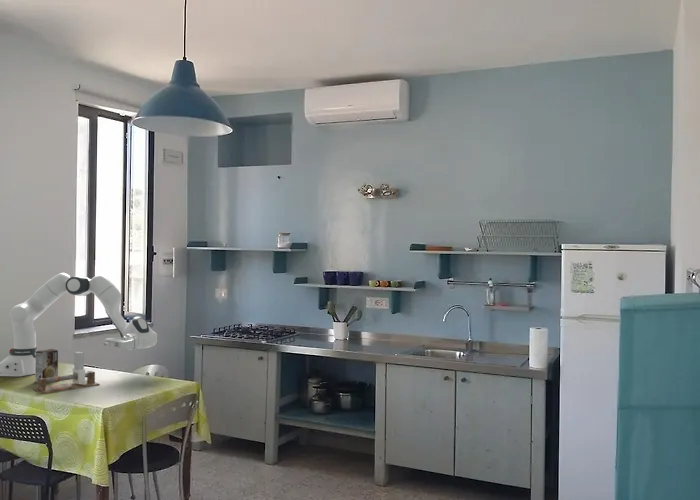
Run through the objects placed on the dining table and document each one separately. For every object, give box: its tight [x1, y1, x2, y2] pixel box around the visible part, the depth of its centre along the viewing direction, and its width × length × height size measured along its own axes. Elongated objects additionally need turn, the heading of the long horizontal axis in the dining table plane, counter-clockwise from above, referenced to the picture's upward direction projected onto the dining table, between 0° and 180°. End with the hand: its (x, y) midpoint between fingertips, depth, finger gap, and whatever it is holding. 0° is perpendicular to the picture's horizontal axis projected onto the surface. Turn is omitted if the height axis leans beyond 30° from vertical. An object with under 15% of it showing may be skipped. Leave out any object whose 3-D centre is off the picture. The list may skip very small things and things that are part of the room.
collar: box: [72, 351, 86, 384], centre depth 327 cm, size 3×7×16 cm, turn 49°
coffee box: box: [34, 348, 59, 383], centre depth 336 cm, size 9×6×16 cm
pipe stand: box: [32, 370, 100, 395], centre depth 322 cm, size 28×12×6 cm, turn 139°
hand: (105, 344), depth 337 cm, fingers closed
